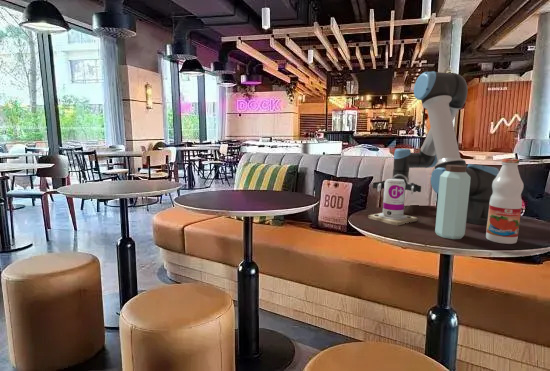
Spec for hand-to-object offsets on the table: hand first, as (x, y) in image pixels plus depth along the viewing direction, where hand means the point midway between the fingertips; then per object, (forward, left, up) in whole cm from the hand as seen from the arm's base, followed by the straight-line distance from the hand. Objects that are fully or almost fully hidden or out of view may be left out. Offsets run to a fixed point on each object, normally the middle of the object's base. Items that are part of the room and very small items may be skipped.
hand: (394, 189), depth 160 cm
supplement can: (-3, +4, -10) cm, 11 cm away
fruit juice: (-42, -3, -12) cm, 43 cm away
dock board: (-3, +4, -12) cm, 13 cm away
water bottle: (-29, +7, -12) cm, 32 cm away
